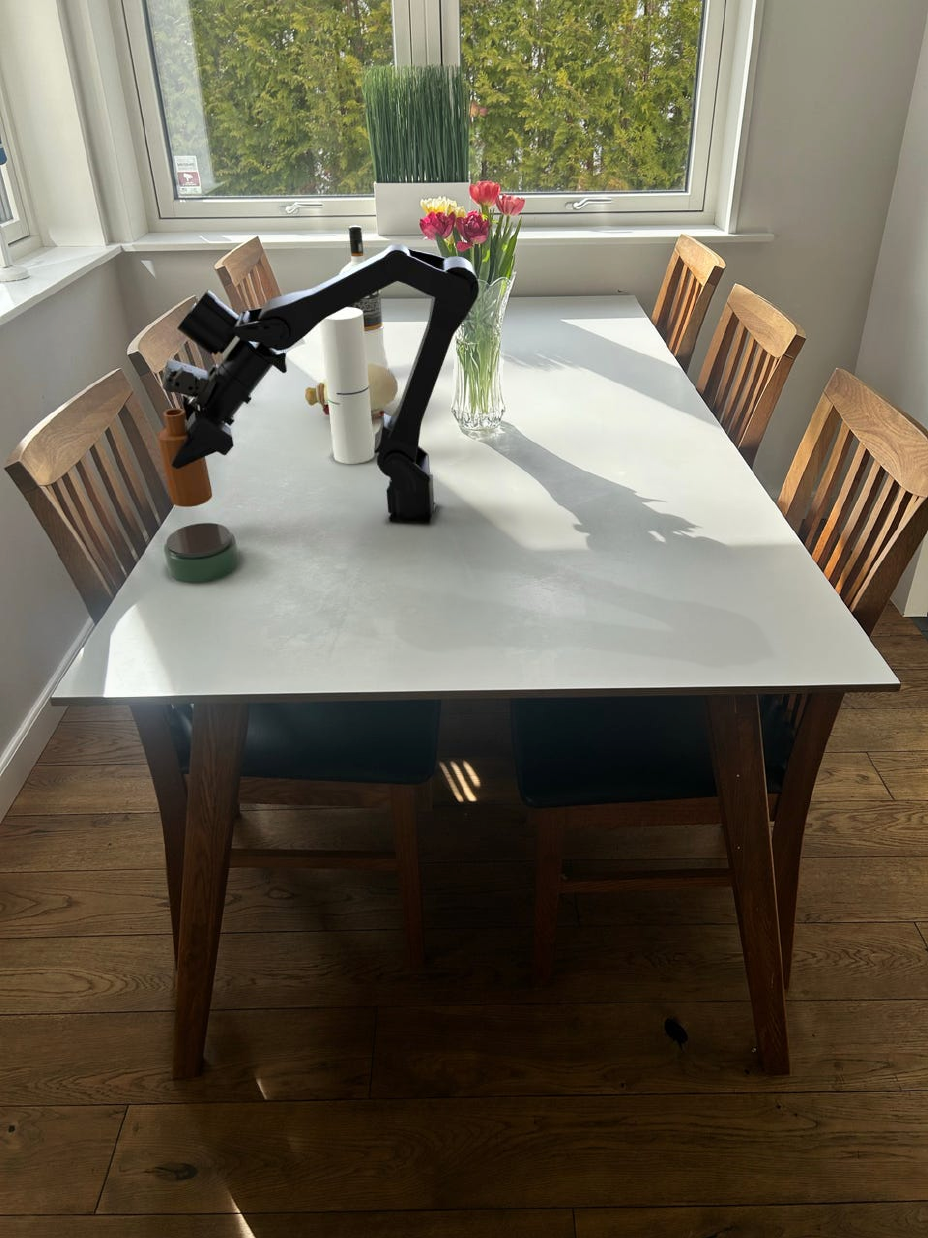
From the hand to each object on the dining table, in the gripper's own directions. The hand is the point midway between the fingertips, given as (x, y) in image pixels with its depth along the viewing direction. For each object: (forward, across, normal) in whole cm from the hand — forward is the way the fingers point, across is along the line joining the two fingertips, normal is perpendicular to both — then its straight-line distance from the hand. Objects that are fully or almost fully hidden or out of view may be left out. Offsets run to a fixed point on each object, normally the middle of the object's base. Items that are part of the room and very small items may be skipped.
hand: (173, 458), depth 138 cm
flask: (-14, -40, +32) cm, 53 cm away
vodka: (-19, -62, +37) cm, 75 cm away
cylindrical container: (-12, -21, +30) cm, 38 cm away
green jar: (+8, +11, +10) cm, 16 cm away
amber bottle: (+4, 0, +6) cm, 7 cm away
